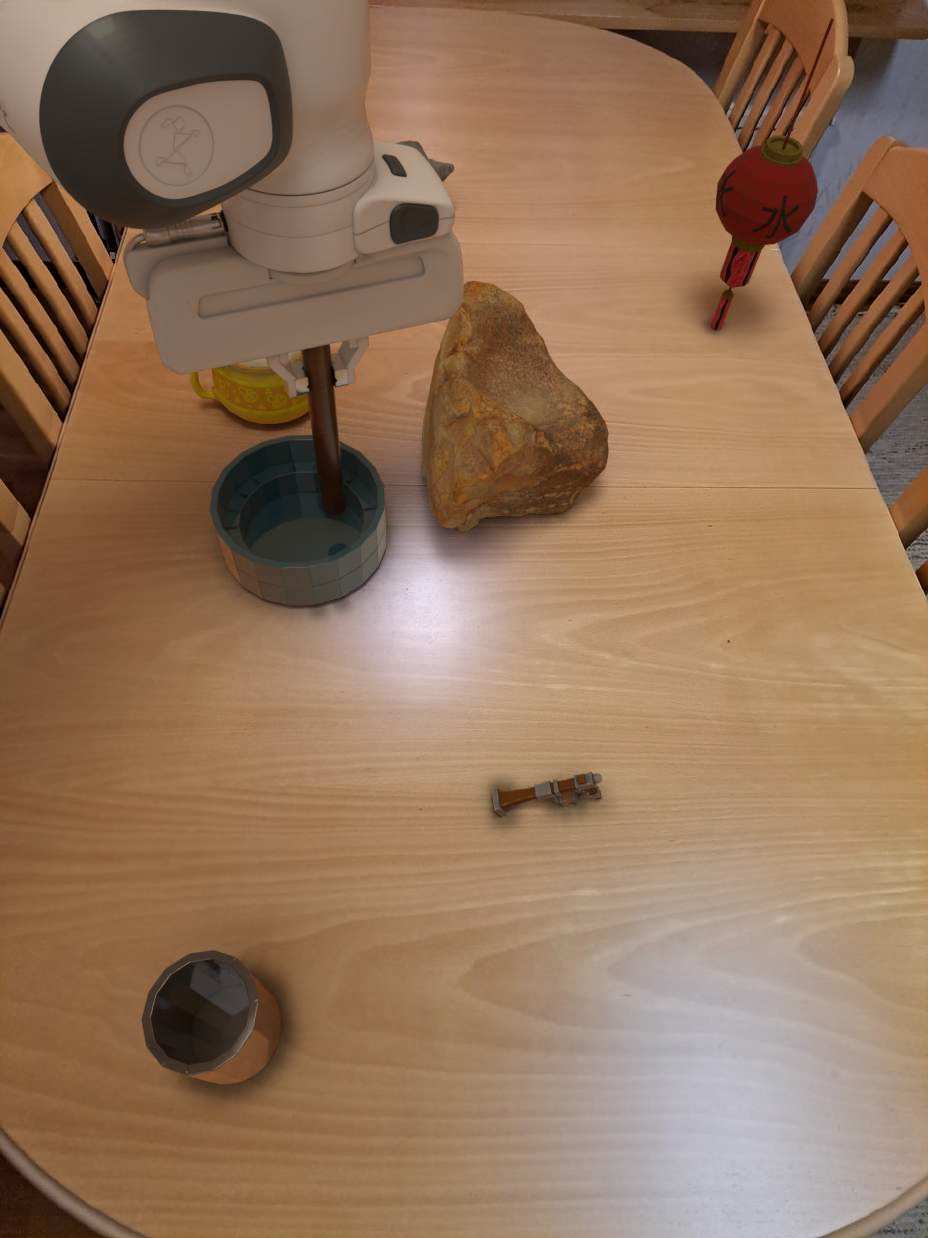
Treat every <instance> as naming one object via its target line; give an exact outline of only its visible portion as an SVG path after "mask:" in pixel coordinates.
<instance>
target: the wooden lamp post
mask: <svg viewBox="0 0 928 1238" xmlns="http://www.w3.org/2000/svg"><path fill="white" fill-rule="evenodd" d="M602 781H603V776H602V775H601V774H600V773H593V772H592V771H591V770H590V771H588V772H584V773H580V774H573V777H571V778H565V779H561V780H558V779H557V778H555V779H552V781H550V780H547V781H545V782H544V781H543V782H541V783H534V784H533V785H534V786H530V787H525V788H524V787H523V788H515V789H509V790H501V789H500V788H499V787H498V786H491V795H492V801H493V809H494V810H493V811H494V812H495V813H497V814H498V815H499V816H500V817H504V816H508V814H507V813H508V812H507V811H508V810H510V809H512V808H514V807H516V806H519V805H522V804H525V803H527V802H531V801H535V800H539V801H543V800H545V799H550V798H552V801H553V802H554V804H557V805H559V804H560V805H561V806H562V807H565V806H566V805H569V804H573V803H574V804H575V805H579V799H582V800H583V799H584V797H585V796H587V797H590V798H591V799H594V800H595V801H597V800H600V799H601V800H602V797H603V796H602V791H601V789H600V788H599V786H598V784H600V783H601V782H602Z"/></svg>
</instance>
